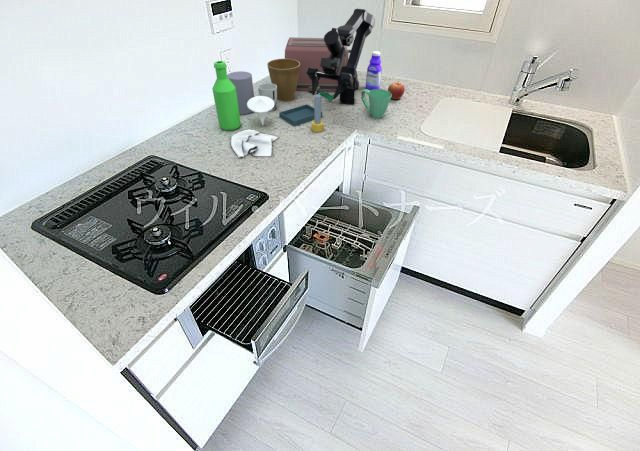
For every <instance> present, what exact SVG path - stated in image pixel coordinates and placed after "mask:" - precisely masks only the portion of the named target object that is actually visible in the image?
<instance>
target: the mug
mask: <svg viewBox="0 0 640 451" xmlns="http://www.w3.org/2000/svg"><path fill="white" fill-rule="evenodd" d="M360 94H361V95H360V96H361V97H360V98H361V101H362V103H363V106H364V107H365V109H366V110H367V111H369V112H370V115H371V117H372V118H373V119H382V118H384V115H385V113H386V111H387V109H388V107H389V104H390V101H391V99H392V98H391V96H392V94H391V95H390V92H389V91H388V89H387V90H386V89H381V88H379V89H375V90H370V89H367V88H364V89H363V90H362V91H361V93H360ZM366 94H367V95H368V100H367V98H366Z"/></svg>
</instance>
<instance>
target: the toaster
mask: <svg viewBox="0 0 640 451" xmlns="http://www.w3.org/2000/svg"><path fill="white" fill-rule="evenodd" d="M344 48H345V50H346V56H344V59H343V62H342V65H341V67H343V66H344V67H345V66H346V65H347V62H348V59H349V55H350V52H351V49H348V46H344ZM329 56H330V52H329V51H328V48H327V46H326V44H325V42H324V37H293V36H292V37H288V39H287V42H286V45H285V48H284V59H294V60H297V61H299V62H300V71H299V78H298V84H297V88H296V92H297V91H299V92H310V91H309V89H308V88H309V86H312V80H311V79H310V78H309V76H308V75H307V73H306V72H307V69H308V68H309V67H313V68H317V69H318V70H319V72H322V73H324V71H323V70H322V68H323V67H320V63H321V58H329ZM340 72H341V70H340V71H339V74H340ZM339 74H338V75H339ZM318 81H319V84H318V86H320V89H321V90H322V91H324V92H334V93H335V91H336V88H337V86H338V81H337V80H331V79H326V78H320V80H318Z"/></svg>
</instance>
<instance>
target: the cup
mask: <svg viewBox="0 0 640 451" xmlns="http://www.w3.org/2000/svg"><path fill="white" fill-rule="evenodd" d="M257 89H258V94H259V95H258V96H266V97H269V98H271V99H272V100H273V101H274V107H273V108H272V109H271V110H269V111H268V112H273V111H275V110H276V106H277V101H278V97H277V85H275V84H272V82H267V83H266V82H265V83H261V84H258V86H257Z"/></svg>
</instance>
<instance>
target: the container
mask: <svg viewBox="0 0 640 451" xmlns="http://www.w3.org/2000/svg"><path fill="white" fill-rule="evenodd" d="M227 77H228V79H229V80H230V81H231V82H232V83H233V85H234V86H235V87H236V94H237V100H238V107H239V114H240V115H250V114H252V113H253V112H254V111H252V110H250V109H249V108H248V106H247V102H248V101H249V100H250V99H251V98H253V97H255V92H254V84H253V83H254V82H253V75H252V73H251V72H248V71H243V70H241V71H240V70H239V71H232V72H230V73H227ZM254 113H255V112H254Z"/></svg>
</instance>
